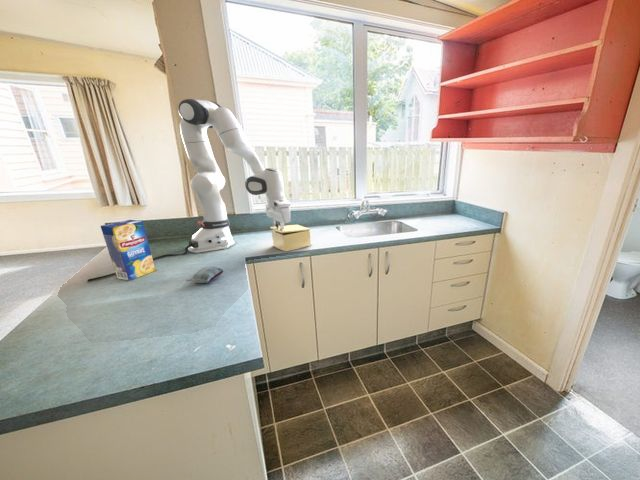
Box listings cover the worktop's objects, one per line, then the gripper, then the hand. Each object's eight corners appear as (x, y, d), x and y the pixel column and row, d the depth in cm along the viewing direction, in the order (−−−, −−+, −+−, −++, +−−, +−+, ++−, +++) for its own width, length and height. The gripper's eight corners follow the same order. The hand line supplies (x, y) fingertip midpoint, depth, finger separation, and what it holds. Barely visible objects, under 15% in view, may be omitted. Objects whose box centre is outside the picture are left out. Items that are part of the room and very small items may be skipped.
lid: (281, 233, 150) (281, 224, 149) (270, 228, 158) (269, 220, 157) (309, 230, 162) (309, 221, 160) (297, 225, 170) (297, 218, 169)
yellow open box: (284, 251, 154) (283, 235, 151) (273, 246, 163) (271, 230, 159) (310, 245, 165) (309, 230, 162) (298, 240, 173) (297, 225, 170)
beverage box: (156, 270, 128) (142, 221, 121) (129, 280, 119) (112, 227, 111) (144, 268, 130) (130, 219, 123) (116, 278, 120) (100, 225, 113)
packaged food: (187, 286, 115) (184, 274, 113) (205, 273, 126) (203, 263, 124) (209, 287, 115) (207, 275, 113) (225, 274, 126) (223, 264, 124)
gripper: (261, 199, 155) (264, 225, 160) (280, 205, 142) (282, 232, 147) (272, 198, 159) (275, 223, 164) (291, 203, 146) (294, 230, 151)
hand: (279, 227), depth 155 cm, fingers closed on lid, 5 cm apart
